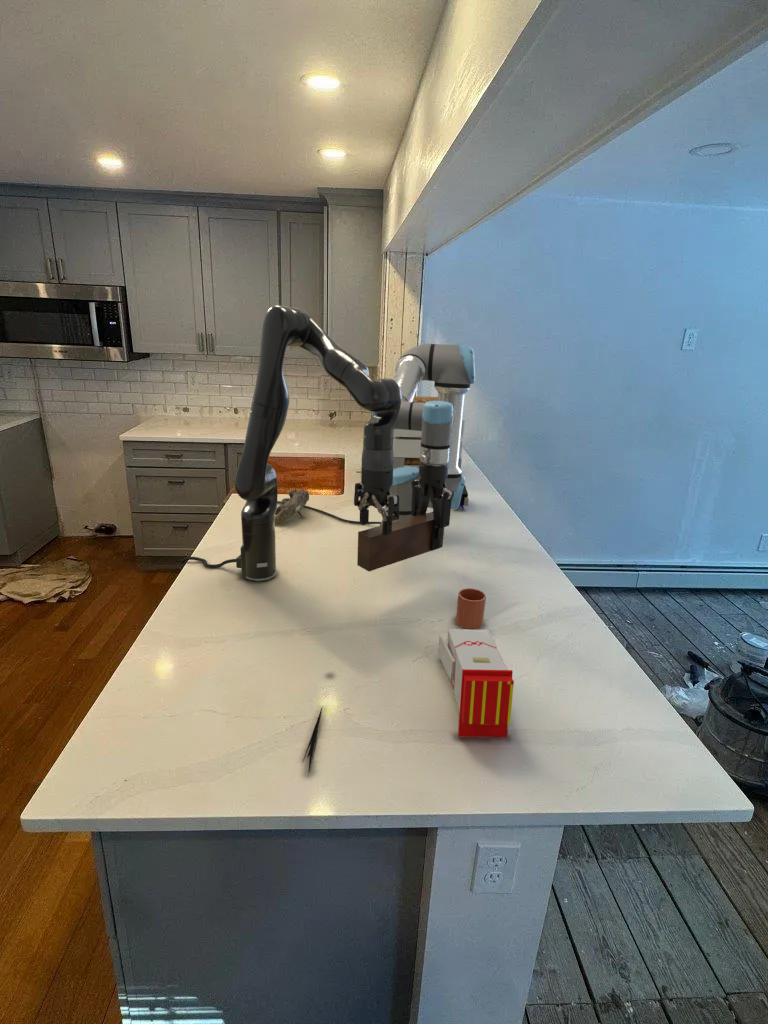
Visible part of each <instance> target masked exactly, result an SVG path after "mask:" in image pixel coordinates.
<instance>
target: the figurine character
mask: <svg viewBox="0 0 768 1024" xmlns="http://www.w3.org/2000/svg"><path fill="white" fill-rule="evenodd" d="M469 502H470V501H469V492H468V490H467V487H466V485H465V484H464V488H463V492H462V496H461V501H460V505H459V507H458V508H461V510H462V511H464V510H465V507H468V506H469ZM458 508H457V509H456V510H455V511H457V510H458Z"/></svg>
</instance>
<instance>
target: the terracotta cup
mask: <svg viewBox="0 0 768 1024" xmlns="http://www.w3.org/2000/svg"><path fill="white" fill-rule="evenodd" d="M486 600H487V595H486V593H485V592H483V590H480V589H476V588H472V587H470V588H469V587H467V588H462V589H460V590H459V591H458V593H457V601H456V602H457V604H456V614H455V623H456V624H457V626H458V627H460V628H461V629H469V630H479V629H481V627H482V626H483V624H484V618H485V608H486Z"/></svg>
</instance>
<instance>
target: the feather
mask: <svg viewBox="0 0 768 1024" xmlns="http://www.w3.org/2000/svg"><path fill="white" fill-rule="evenodd" d="M329 675H330V676H331V675H332V674H331V673H330V674H329ZM322 710H323V707H321V708H320V710H319V713H318V716H317V719H316V723H315V725H314V728H313V731H312V733H311V737H310V739H309V742H308V745H307V748H306V751H305V754H304V757H303V760H302V763H301V767H302V765H303V763H304V761H305V758H308V759H309V760H308V762H307V763H308V764H307V766H308V771H310V770H311V766H312V765H311V764H312V760H313V757H315V756H314V755H315V751H316V749H315V746H317V739H318V733H319V729H320V722H321V717H322V712H323V711H322ZM313 754H314V755H313ZM306 755H307V757H306Z"/></svg>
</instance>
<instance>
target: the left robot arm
mask: <svg viewBox="0 0 768 1024" xmlns="http://www.w3.org/2000/svg"><path fill="white" fill-rule="evenodd" d="M261 328H262V329H261V338H260V351H259V352H260V353H259V362H258V369H257V374H256V379H255V380H256V382H255V386H254V391H253V395H252V400H251V404H250V405H251V406H250V410H249V418H248V423H247V428H246V433H245V439H244V445H243V449H242V453H241V456H240V459H239V462H238V466H237V469H236V471H235V475H234V489H235V491H236V493H237V495H238V496H239V497H240V499H242V500H244V501H246V502H245V503H244V506H243V507H242V509H241V512H240V520H241V542H242V545H241V546H240V554H239V555H238V556H237V557H235V558H232V559H225V560H223V561H222V562H220V563H216V564H212V563H208V560H206V559H204V558H201V557H198V556H186V557H183V558H182V559H181V560H180V561H179V563H182V564H183V563H185V562H186V561H187V562H188V561H198V562H200V563H203V565H204V567H206V568H211V569H215V568H221V567H223V566H224V565H226V564H231V563H235V564H236V566H235V567H236V569H241V579H246V580H248V581H251V582H265V581H269V580H272V579H274V578H275V577H276V576H277V554H276V553H277V551H276V524H275V516H276V515H275V512H276V509H277V507H278V503H277V501H278V497H279V496H278V493H279V491H278V489H279V488H278V487H279V486H278V485H279V484H278V483H279V482H278V481H279V480H278V476H277V472H276V470H275V469H274V467H273V466H272V465H271V464H270V463H268V462H269V458H270V454H271V452H272V450H273V448H274V446H275V444H276V443H277V441H278V439H279V438H280V435H281V433H282V431H283V429H284V426H285V424H286V421H287V415H288V411H289V407H290V405H289V404H290V394H289V389H288V386H287V382H286V378H285V374H284V360H285V355H286V350H287V347H299V348H301V349H303V350H305V351H307V352H309V353H310V354H312V355H313V356H314V357H316V358H317V360H318V362H319V363H320V365H321V367H322V369H323V371H325V373H326V374H327V375H328V376H330V378H331V379H333V380H334V381H335V382H336V383H338V384H340V385H341V386H342V387H343V388H345V389H346V390H347V392H348V393H349V395H350V396H351V397H352V399H353V400H354V402H355V403H356V404H357V405H358V406H359V407H360V408H361V409H363V410H365V411H366V412H370V413H372V412H374V415H373V418H372V417H371V419H370V420H368V421H367V422H366V423H365V424H364V426H363V435H362V436H363V437H362V439H363V440H362V452H361V467H360V468H361V470H360V482H356V483H354V494H353V496H354V497H353V505H354V507H357V508H358V511H359V521H360V524H359V525H361V526H365V525H369V524H368V522H370V521H369V520H370V509H369V508H370V507H373V508H375V509H376V510H377V512H378V514H380V515H381V517H382V519H383V520H384V521H383V526H382V535H384V536H387V535H390V534H391V532H392V521H394V520H398V519H399V496H398V495H390V490H389V489H390V487H391V485H392V484H393V463H394V453H393V440H394V427H395V424H396V421H397V418H398V414H399V410H400V406H401V400H402V395H401V389H400V387H399V385H398V383H397V382H396V381H395V380H393V379H394V378H388V377H386V378H377V379H373V378H372V377H370V369H369V368H368V366H367V365H366V364H365V363H364V362H363V361H361V360H360V359H359V358H357V357H356V356H354V355H353V354H352V353H351V352H349V351H348V350H346V349H345V348H344V347H342V346H341V345H339V343H337V342H336V341H335V340H334V339H333V338H332V337H331V336H330V335H329V334H327V333H326V331H325V330H323V328H322V327H321V326H320V325H319V324H318V323H317V322H316V321H315V320H314V319H313V318H312V316H311V315H309V314H308V313H307V312H306V311H305V310H304V309H302V308H298V307H293V306H286V305H280V304H279V305H278V304H277V305H273V306H271V307H269V308H268V310H267V311H266V313H265V315H264V318H263V322H262V327H261ZM385 505H386V508H385ZM393 511H394V515H393ZM385 512H387V513H388V516H387V515H386V513H385Z"/></svg>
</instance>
